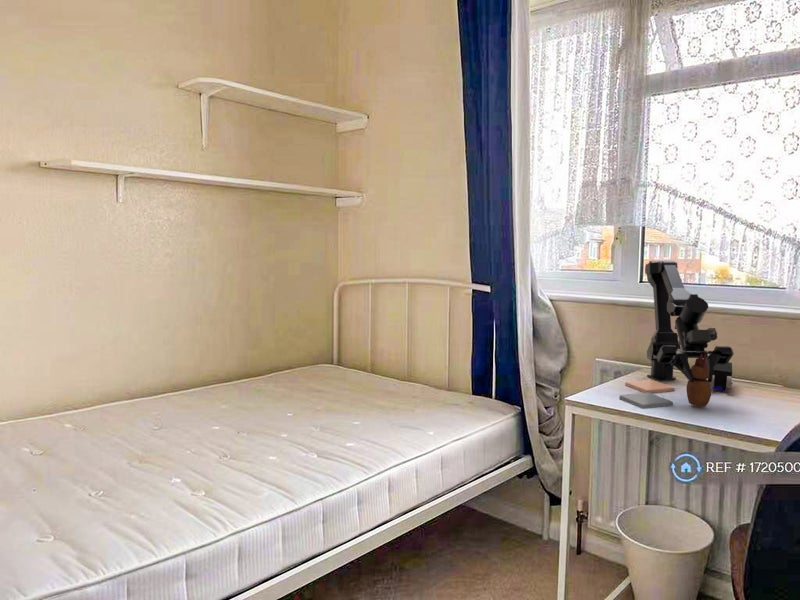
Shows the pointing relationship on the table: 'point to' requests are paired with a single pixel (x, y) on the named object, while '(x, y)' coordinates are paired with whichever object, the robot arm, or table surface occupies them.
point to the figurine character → (722, 377)
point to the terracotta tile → (649, 386)
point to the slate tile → (646, 400)
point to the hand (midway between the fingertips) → (701, 381)
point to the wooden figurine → (699, 384)
